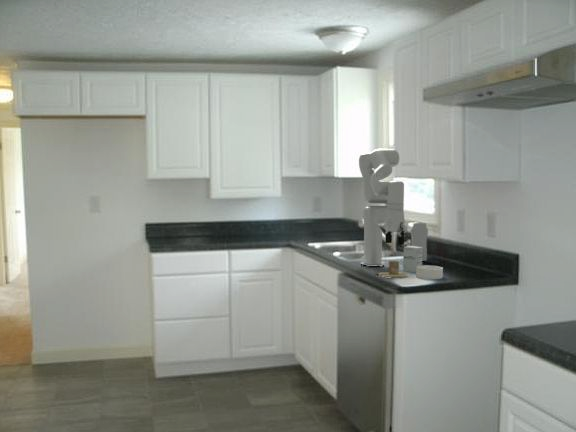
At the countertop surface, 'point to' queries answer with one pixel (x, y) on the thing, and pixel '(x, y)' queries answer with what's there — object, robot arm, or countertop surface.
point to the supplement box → (412, 258)
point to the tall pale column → (420, 237)
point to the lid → (393, 271)
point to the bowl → (429, 272)
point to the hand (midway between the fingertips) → (394, 243)
